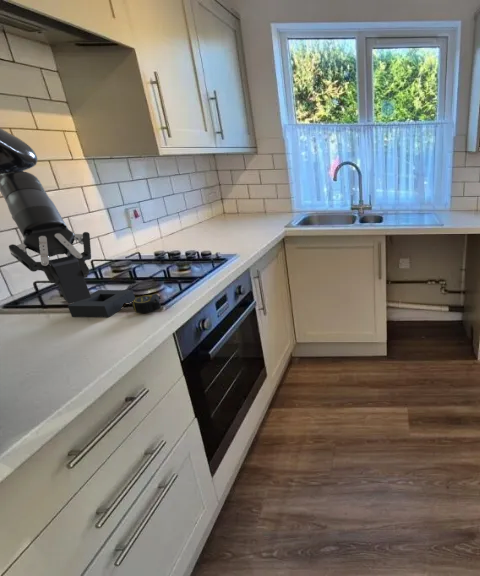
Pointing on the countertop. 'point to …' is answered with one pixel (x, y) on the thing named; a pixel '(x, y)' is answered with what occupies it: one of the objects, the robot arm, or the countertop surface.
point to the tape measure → (146, 303)
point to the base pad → (101, 303)
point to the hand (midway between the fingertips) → (71, 278)
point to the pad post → (70, 279)
